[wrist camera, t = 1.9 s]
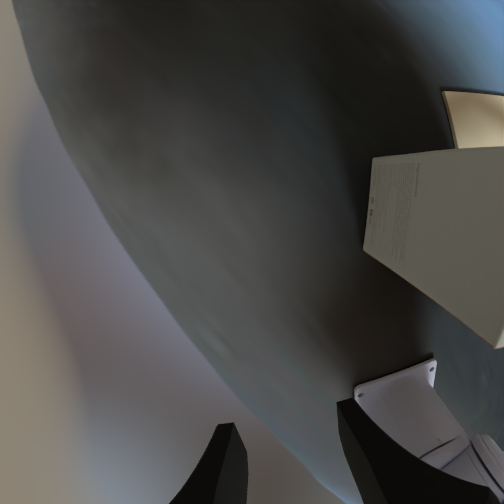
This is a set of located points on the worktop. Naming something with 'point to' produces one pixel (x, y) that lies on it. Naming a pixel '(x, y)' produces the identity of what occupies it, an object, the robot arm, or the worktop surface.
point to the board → (475, 119)
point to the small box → (444, 230)
